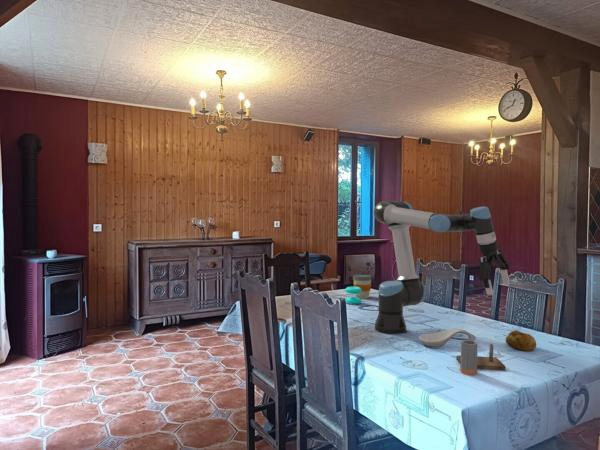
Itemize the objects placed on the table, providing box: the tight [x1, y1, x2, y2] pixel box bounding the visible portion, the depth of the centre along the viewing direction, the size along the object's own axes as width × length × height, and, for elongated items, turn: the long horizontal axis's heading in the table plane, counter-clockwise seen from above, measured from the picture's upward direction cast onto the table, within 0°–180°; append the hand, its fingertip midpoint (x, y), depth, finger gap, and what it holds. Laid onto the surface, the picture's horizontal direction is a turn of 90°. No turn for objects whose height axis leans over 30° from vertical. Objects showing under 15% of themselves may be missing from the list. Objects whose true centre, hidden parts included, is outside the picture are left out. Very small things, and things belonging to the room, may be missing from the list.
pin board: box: [456, 343, 507, 371], centre depth 162 cm, size 15×10×8 cm, turn 83°
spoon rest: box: [419, 328, 476, 348], centre depth 186 cm, size 24×12×7 cm, turn 93°
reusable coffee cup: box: [352, 273, 373, 300], centre depth 291 cm, size 13×13×15 cm
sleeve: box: [459, 339, 478, 376], centre depth 154 cm, size 5×5×11 cm
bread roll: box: [505, 330, 537, 352], centre depth 183 cm, size 13×10×8 cm
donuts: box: [345, 286, 362, 305], centre depth 272 cm, size 10×10×10 cm
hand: (498, 289), depth 186 cm, fingers open, 13 cm apart
